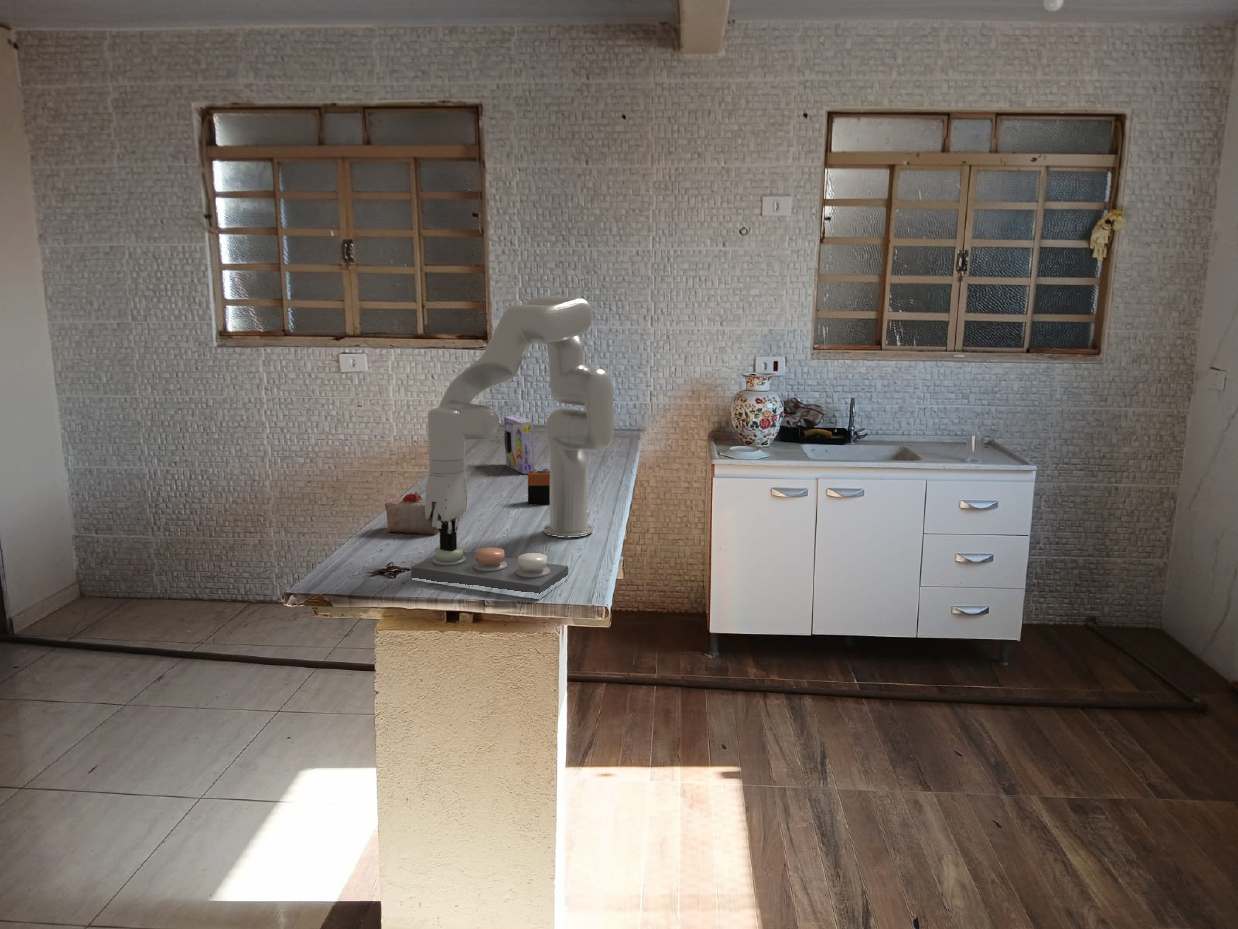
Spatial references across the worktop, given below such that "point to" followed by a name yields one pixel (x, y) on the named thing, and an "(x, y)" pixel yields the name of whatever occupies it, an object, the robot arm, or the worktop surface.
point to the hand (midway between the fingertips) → (448, 549)
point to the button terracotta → (490, 555)
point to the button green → (449, 554)
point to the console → (489, 573)
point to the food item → (408, 515)
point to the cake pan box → (519, 443)
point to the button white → (532, 561)
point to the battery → (539, 486)
